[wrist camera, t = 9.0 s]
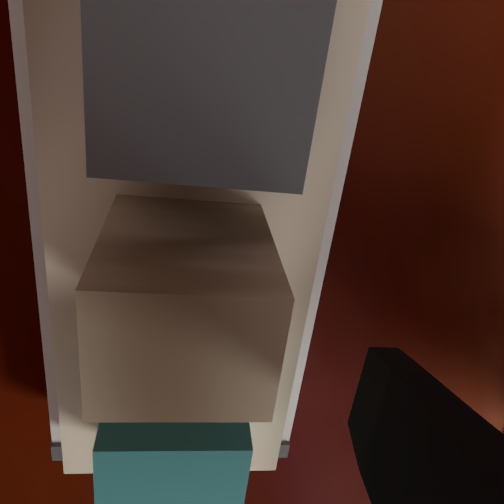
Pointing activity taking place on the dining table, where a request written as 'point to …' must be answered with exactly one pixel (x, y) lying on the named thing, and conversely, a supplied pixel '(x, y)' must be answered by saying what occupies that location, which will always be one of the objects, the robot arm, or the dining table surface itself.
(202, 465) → the block
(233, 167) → the grey cube
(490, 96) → the dining table surface
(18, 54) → the dock
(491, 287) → the dining table surface
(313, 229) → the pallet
